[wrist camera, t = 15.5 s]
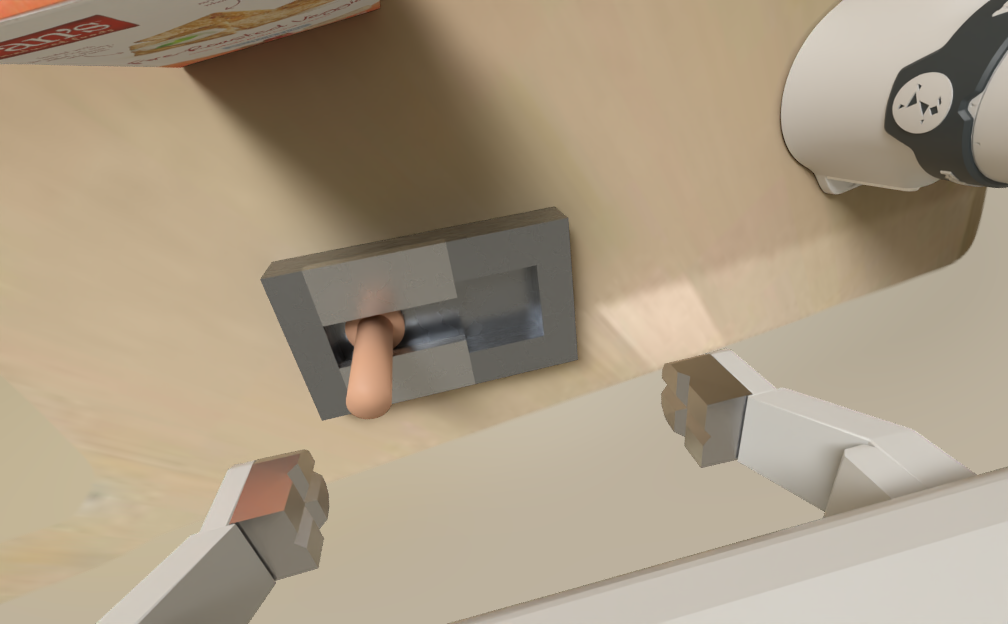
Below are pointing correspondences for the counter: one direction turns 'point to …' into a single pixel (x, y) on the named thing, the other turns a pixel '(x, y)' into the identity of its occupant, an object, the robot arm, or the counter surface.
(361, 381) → the peg
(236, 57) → the counter surface
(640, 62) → the counter surface
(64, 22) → the cracker box
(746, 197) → the counter surface
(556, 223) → the keyhole board
